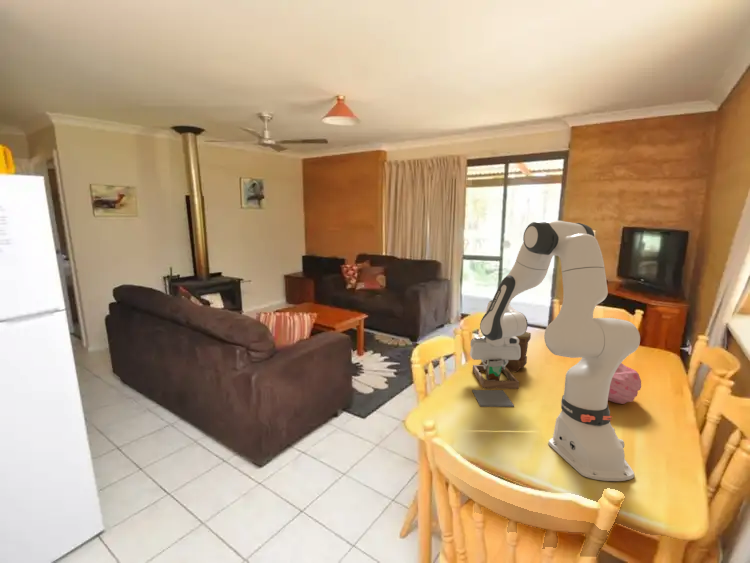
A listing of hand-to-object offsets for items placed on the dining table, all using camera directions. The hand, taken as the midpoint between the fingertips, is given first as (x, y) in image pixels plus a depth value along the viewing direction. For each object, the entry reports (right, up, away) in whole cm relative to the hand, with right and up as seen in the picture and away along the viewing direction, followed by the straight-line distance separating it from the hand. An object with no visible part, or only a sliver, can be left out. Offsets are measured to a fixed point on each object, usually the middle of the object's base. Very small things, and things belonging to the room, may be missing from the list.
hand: (494, 369), depth 152 cm
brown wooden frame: (0, -5, +1) cm, 5 cm away
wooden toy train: (+10, -3, +15) cm, 18 cm away
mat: (-6, -7, -16) cm, 19 cm away
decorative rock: (+39, -8, -18) cm, 44 cm away
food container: (0, -5, +1) cm, 5 cm away
